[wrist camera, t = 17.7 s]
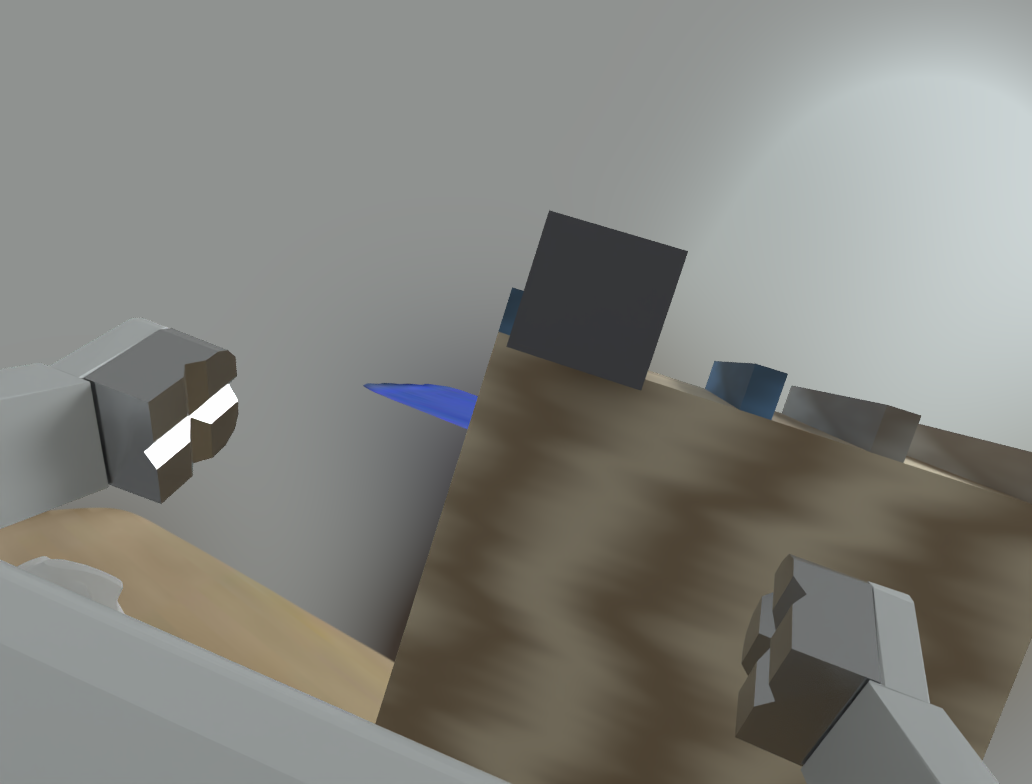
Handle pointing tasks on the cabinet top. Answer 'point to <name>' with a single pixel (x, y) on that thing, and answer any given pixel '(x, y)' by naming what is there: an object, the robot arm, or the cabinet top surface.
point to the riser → (688, 566)
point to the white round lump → (78, 579)
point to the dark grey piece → (596, 299)
